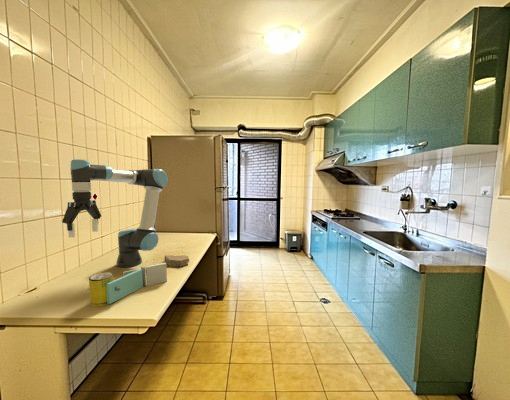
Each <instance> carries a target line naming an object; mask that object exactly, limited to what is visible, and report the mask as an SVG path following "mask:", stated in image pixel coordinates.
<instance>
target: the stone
mask: <svg viewBox="0 0 510 400" xmlns="http://www.w3.org/2000/svg"><path fill="white" fill-rule="evenodd" d="M163 259H164V262H163V263H166V266H168V267H169V268H171V267H172V268H174V267H175V268H182V267H184V266H185V267H186V266H187V264H188V263H189V262H190V259H189V256H188V255H186V254H181V255H170V254H169V255H168V254H167V255H164V258H163Z"/></svg>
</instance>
